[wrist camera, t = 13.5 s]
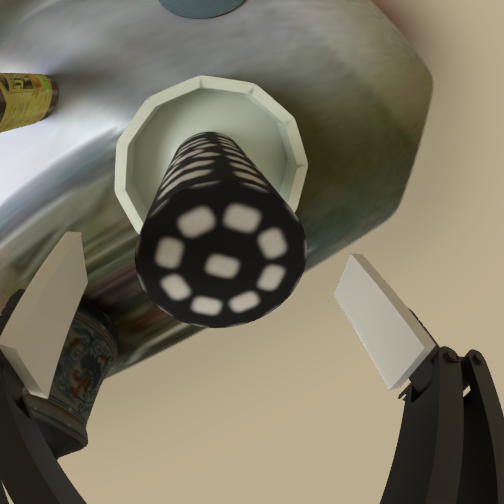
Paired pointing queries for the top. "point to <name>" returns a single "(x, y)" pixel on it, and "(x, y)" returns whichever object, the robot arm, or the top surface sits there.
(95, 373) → the beer stein
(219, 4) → the cocktail glass
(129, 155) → the bowl
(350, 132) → the top surface
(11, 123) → the sauce bottle
